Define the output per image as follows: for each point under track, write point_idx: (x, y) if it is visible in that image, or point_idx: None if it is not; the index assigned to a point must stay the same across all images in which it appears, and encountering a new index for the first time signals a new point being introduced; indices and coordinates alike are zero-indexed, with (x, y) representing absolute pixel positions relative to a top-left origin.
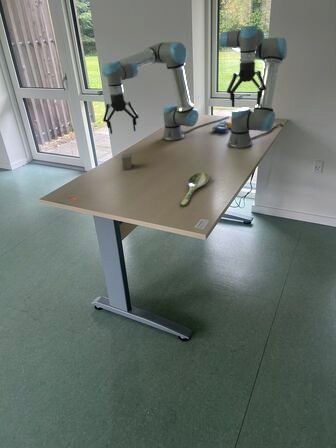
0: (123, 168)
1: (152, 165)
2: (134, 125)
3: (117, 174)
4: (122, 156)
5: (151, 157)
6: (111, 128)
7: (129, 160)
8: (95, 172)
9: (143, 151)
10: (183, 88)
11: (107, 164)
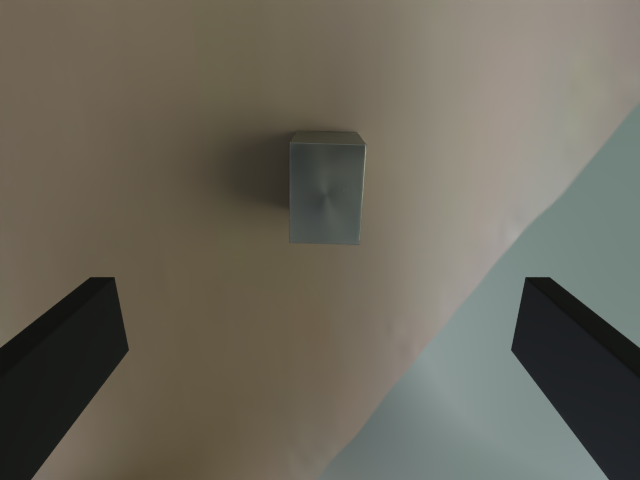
0: (357, 133)
1: (147, 165)
2: (11, 341)
3: (403, 43)
4: (360, 178)
5: (175, 312)
6: (561, 382)
7: (299, 138)
8: (570, 132)
9: (239, 419)
10: None
11: (473, 265)
